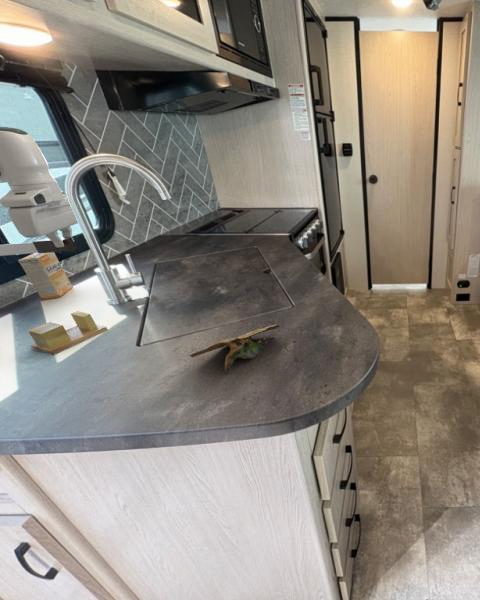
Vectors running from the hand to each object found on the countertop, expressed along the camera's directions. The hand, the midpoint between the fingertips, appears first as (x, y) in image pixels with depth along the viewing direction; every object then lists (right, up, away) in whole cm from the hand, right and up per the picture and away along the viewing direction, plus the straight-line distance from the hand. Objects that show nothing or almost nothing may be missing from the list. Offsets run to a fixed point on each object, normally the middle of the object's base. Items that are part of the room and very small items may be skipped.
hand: (65, 244), depth 90 cm
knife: (-6, -2, -1) cm, 7 cm away
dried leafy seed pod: (+62, -28, -22) cm, 71 cm away
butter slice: (+18, -23, -11) cm, 31 cm away
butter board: (+17, -25, -14) cm, 33 cm away
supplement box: (-13, -14, +10) cm, 22 cm away
